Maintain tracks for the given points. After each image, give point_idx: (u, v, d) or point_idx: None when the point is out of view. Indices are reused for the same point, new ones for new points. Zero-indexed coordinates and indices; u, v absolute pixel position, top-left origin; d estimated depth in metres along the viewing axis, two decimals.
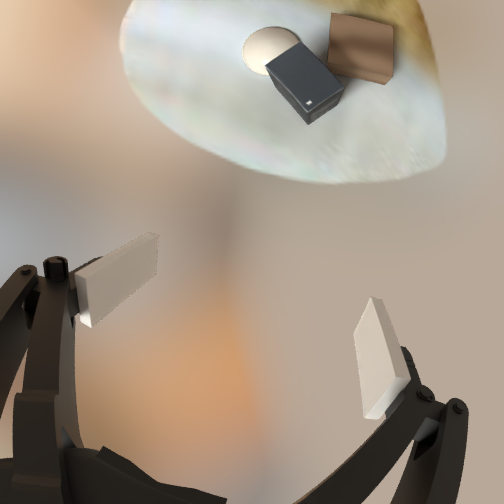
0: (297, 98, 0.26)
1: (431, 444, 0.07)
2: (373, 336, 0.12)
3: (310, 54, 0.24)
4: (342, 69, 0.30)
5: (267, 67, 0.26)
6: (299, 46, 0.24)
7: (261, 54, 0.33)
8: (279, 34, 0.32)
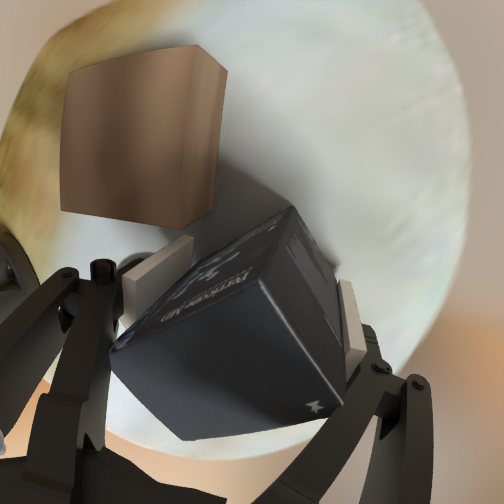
0: (292, 423, 0.08)
1: (396, 422, 0.08)
2: None
3: (132, 353, 0.08)
4: (198, 180, 0.14)
5: (188, 440, 0.10)
6: (115, 367, 0.09)
7: None
8: None
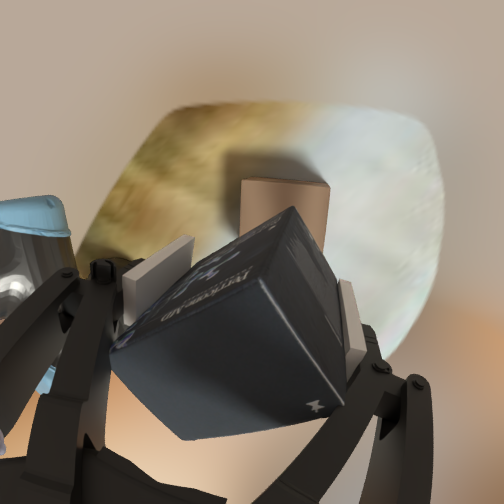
0: (292, 423, 0.08)
1: (396, 422, 0.08)
2: None
3: (132, 353, 0.08)
4: None
5: (189, 440, 0.10)
6: (115, 366, 0.09)
7: None
8: None
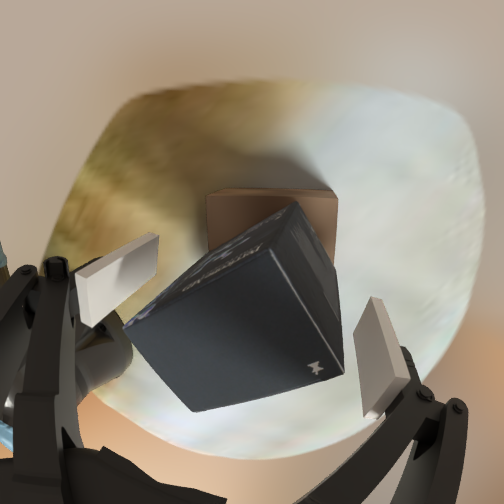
0: (295, 387, 0.09)
1: (431, 444, 0.07)
2: (372, 336, 0.12)
3: (154, 321, 0.10)
4: None
5: (198, 411, 0.11)
6: (135, 337, 0.11)
7: None
8: None
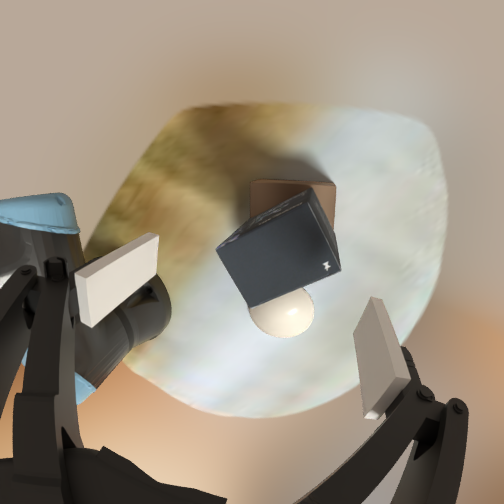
0: (315, 280, 0.19)
1: (431, 445, 0.07)
2: (373, 336, 0.12)
3: (241, 241, 0.20)
4: None
5: (254, 306, 0.21)
6: (224, 254, 0.20)
7: (285, 321, 0.38)
8: None
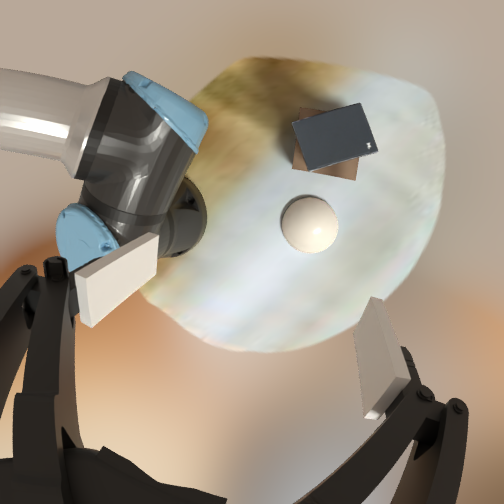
0: (360, 154, 0.25)
1: (431, 445, 0.07)
2: (373, 336, 0.12)
3: (312, 119, 0.25)
4: None
5: (313, 169, 0.26)
6: (298, 126, 0.25)
7: (312, 236, 0.43)
8: (293, 213, 0.43)
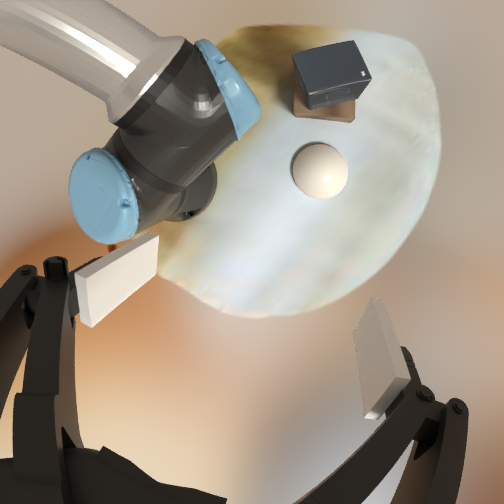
0: (355, 81, 0.24)
1: (431, 445, 0.07)
2: (373, 336, 0.12)
3: (311, 51, 0.24)
4: None
5: (312, 92, 0.25)
6: (298, 56, 0.24)
7: (324, 181, 0.42)
8: (303, 161, 0.42)
